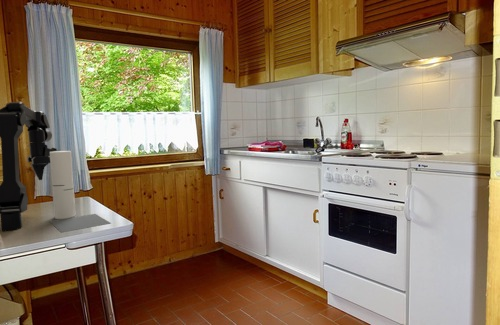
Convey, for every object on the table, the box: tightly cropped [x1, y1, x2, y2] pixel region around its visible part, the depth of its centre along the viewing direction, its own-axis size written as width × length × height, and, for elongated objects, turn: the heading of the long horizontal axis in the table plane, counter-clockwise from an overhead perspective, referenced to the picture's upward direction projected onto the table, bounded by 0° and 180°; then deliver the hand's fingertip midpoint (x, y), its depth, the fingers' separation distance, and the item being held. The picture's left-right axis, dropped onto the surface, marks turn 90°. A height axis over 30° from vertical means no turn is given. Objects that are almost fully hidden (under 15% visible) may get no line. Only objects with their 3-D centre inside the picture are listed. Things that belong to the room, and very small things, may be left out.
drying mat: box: [49, 213, 112, 233], centre depth 125 cm, size 20×16×1 cm
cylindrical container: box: [49, 150, 77, 220], centre depth 134 cm, size 7×7×25 cm
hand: (40, 180), depth 147 cm, fingers closed
